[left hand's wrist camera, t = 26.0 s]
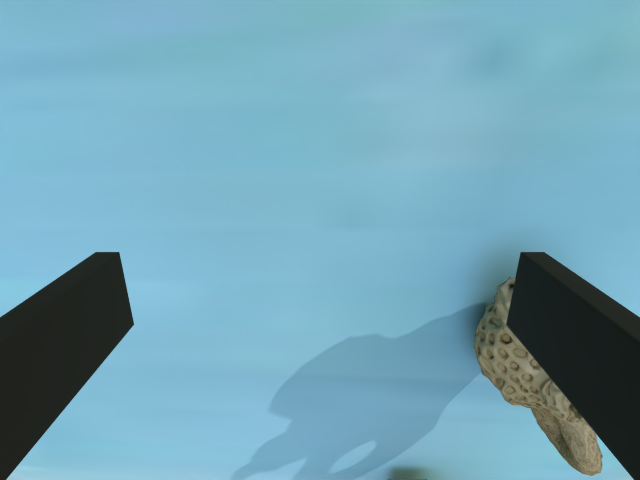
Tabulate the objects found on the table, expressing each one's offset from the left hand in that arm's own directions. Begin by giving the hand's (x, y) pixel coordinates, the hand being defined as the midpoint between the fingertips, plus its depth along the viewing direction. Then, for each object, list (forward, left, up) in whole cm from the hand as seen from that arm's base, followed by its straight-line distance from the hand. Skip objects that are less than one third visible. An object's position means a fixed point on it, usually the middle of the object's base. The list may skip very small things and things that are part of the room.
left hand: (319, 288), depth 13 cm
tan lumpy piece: (+24, +19, -27) cm, 41 cm away
